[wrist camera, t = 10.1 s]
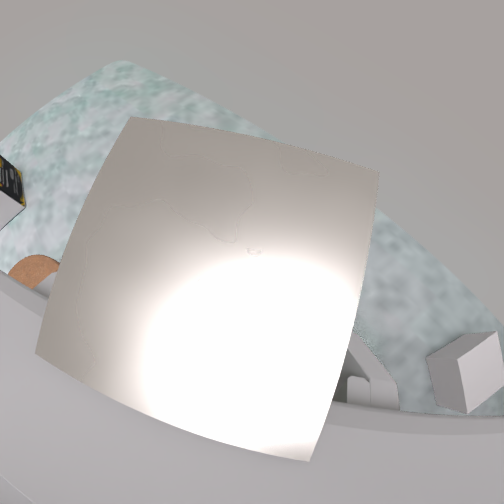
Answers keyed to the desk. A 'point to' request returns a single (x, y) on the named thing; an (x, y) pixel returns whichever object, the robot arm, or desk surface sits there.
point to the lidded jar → (33, 270)
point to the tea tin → (214, 283)
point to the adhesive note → (467, 371)
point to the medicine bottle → (10, 192)
